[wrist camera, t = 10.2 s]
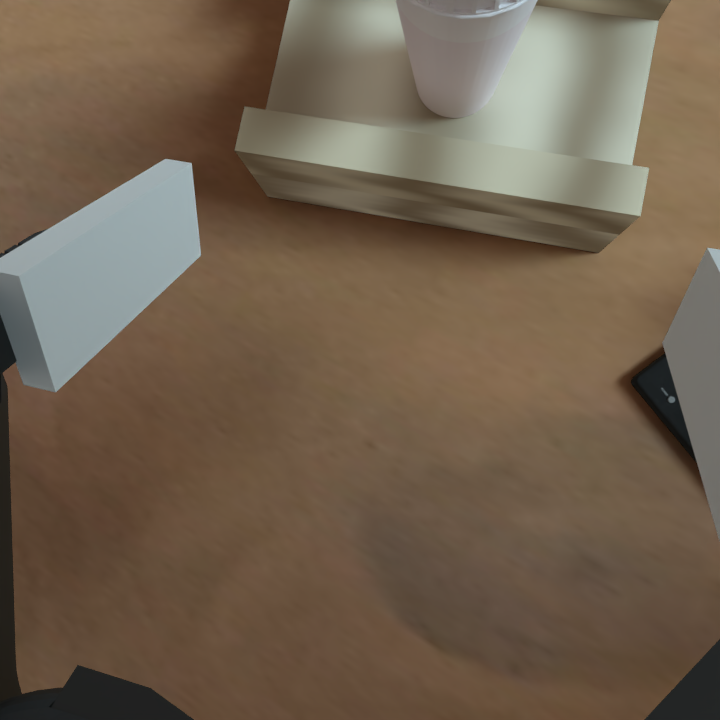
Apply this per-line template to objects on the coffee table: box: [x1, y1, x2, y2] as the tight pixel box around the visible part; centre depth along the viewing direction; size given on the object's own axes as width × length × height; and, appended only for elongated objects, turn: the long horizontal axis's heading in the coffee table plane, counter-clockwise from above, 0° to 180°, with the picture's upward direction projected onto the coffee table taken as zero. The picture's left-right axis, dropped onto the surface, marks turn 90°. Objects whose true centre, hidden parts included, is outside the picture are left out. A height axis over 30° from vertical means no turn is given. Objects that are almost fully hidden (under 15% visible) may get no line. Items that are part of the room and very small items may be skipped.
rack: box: [235, 0, 671, 253], centre depth 27 cm, size 17×12×6 cm
